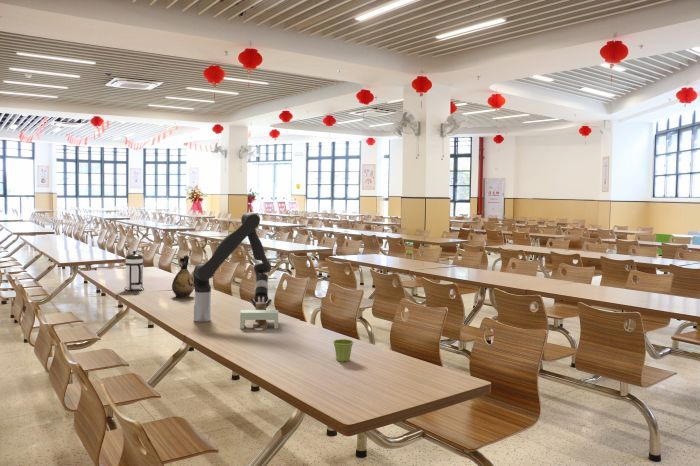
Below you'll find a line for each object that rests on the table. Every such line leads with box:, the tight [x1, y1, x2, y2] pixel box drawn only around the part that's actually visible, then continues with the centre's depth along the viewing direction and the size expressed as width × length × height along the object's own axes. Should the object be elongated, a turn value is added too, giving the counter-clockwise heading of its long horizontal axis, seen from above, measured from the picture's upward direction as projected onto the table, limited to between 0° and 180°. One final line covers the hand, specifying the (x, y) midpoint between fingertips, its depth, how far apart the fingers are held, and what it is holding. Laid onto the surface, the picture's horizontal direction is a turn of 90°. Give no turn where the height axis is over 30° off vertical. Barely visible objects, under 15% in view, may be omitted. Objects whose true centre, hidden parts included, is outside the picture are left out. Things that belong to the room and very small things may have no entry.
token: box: [253, 327, 264, 332], centre depth 318 cm, size 5×5×1 cm
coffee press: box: [124, 250, 145, 292], centre depth 431 cm, size 17×16×30 cm
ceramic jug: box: [171, 254, 195, 299], centre depth 410 cm, size 17×15×30 cm
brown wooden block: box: [252, 301, 269, 330], centre depth 328 cm, size 8×15×12 cm, turn 7°
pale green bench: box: [239, 309, 279, 330], centre depth 324 cm, size 21×8×9 cm, turn 97°
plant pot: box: [332, 338, 355, 363], centre depth 264 cm, size 9×9×9 cm
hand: (260, 313), depth 336 cm, fingers closed
